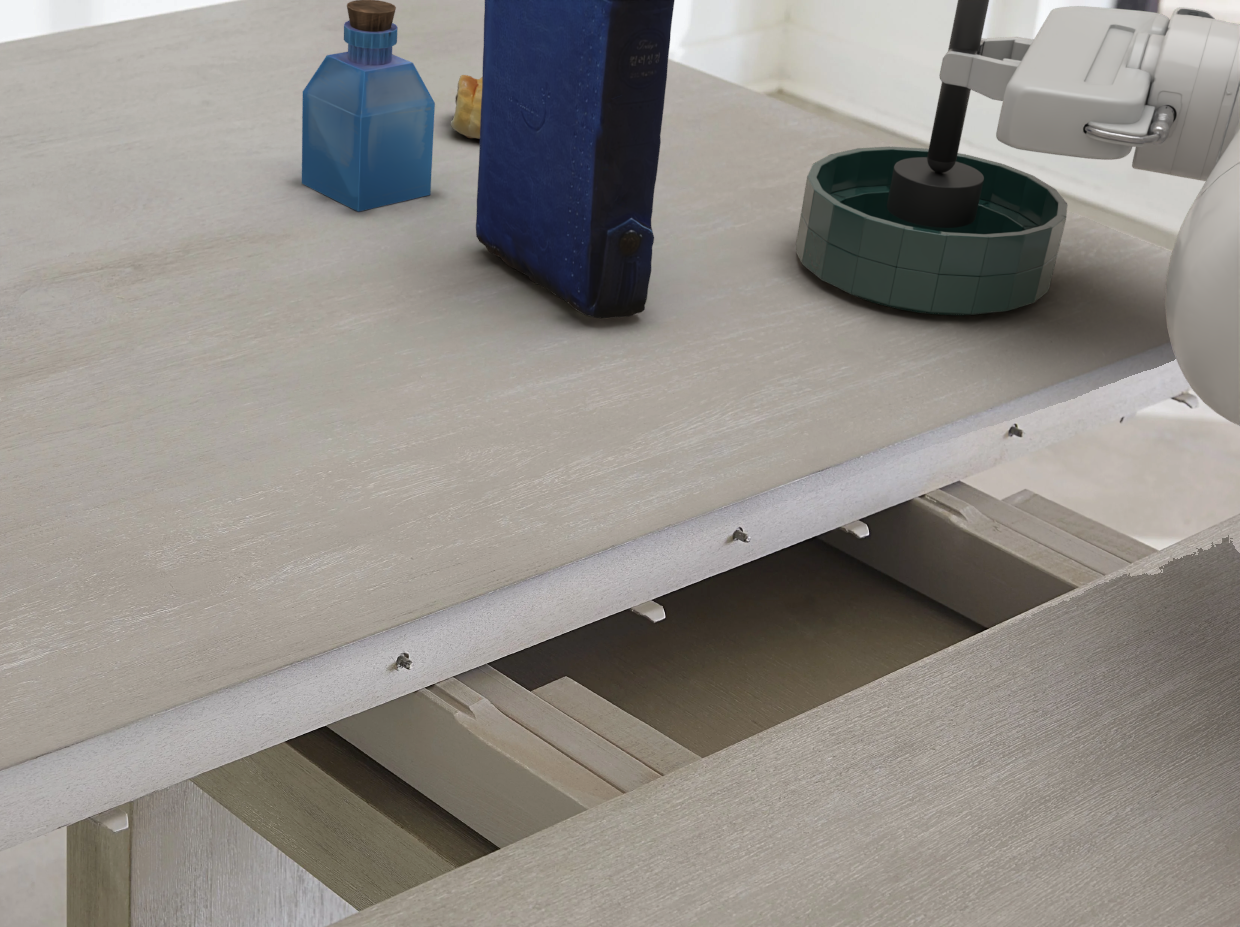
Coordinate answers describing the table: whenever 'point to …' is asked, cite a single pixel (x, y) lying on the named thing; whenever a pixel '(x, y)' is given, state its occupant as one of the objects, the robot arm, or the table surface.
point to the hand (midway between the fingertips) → (947, 57)
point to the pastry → (468, 107)
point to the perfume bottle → (368, 118)
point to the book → (573, 144)
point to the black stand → (943, 148)
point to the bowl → (929, 237)
